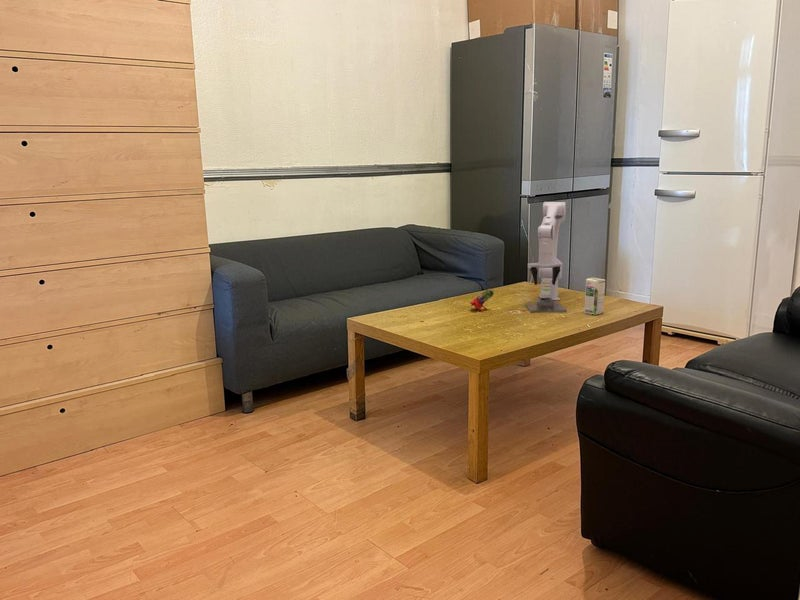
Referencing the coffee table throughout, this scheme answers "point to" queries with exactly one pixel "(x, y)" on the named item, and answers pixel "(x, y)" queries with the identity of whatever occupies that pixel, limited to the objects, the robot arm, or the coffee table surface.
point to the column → (545, 287)
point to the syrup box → (594, 296)
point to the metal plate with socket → (545, 306)
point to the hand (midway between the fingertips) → (544, 284)
